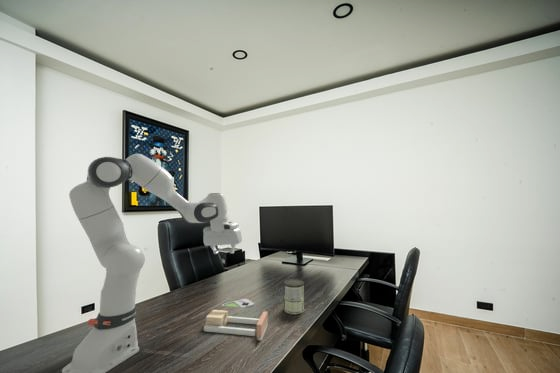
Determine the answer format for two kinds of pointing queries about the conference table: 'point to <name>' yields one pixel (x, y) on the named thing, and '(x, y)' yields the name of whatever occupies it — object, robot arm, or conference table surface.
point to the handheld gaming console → (240, 303)
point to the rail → (251, 332)
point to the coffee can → (293, 296)
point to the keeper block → (217, 318)
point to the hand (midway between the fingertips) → (224, 253)
